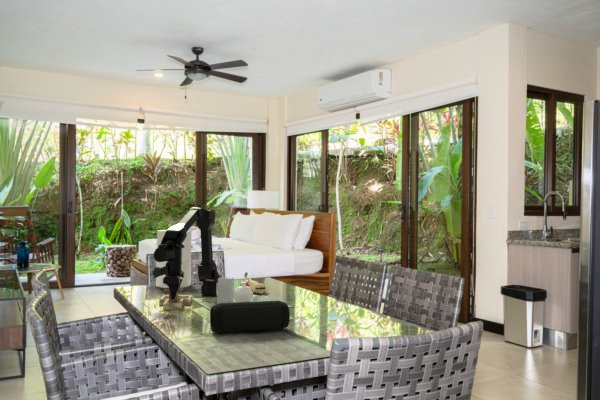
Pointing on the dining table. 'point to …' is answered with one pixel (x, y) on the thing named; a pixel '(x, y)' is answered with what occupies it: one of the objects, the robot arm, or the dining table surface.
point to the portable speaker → (249, 317)
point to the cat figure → (255, 285)
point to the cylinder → (185, 260)
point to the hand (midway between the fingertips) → (173, 298)
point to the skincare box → (225, 290)
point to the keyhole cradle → (182, 301)
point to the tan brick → (166, 289)
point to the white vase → (243, 293)
